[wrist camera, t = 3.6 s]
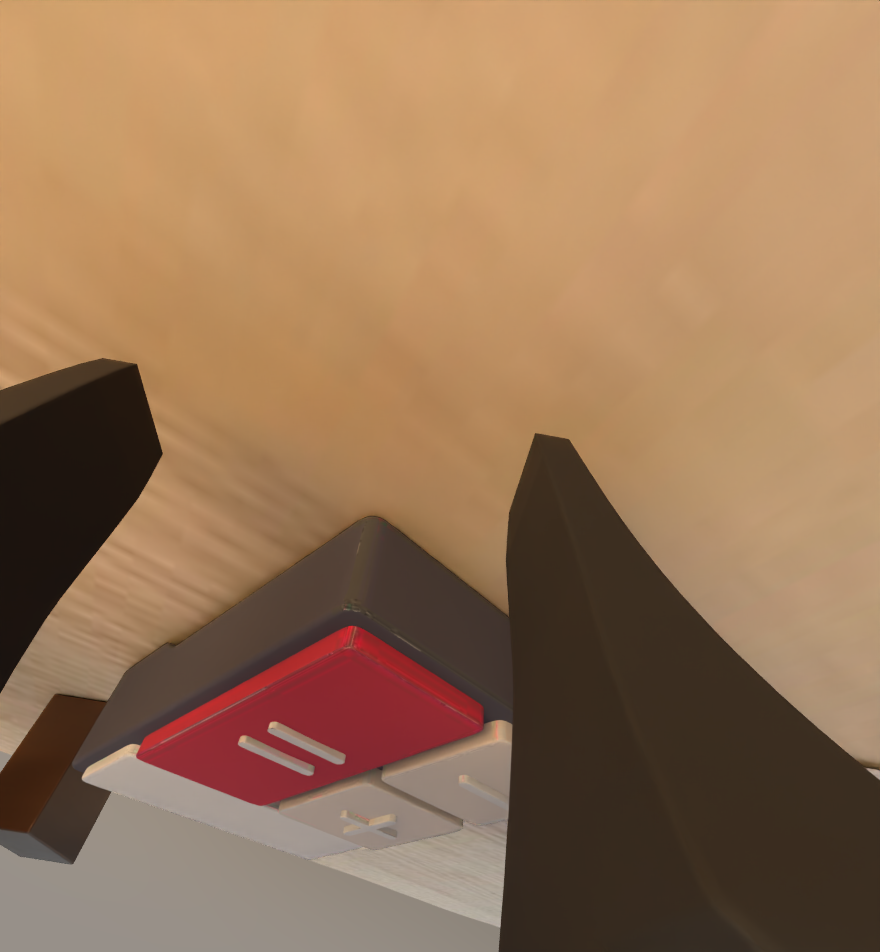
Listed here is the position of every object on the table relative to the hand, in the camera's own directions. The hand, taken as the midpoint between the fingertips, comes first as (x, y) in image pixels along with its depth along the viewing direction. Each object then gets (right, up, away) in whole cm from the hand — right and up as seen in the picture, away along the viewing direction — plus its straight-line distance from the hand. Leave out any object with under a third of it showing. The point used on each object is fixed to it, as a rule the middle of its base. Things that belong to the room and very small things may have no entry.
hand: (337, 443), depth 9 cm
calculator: (-2, -8, +10) cm, 13 cm away
